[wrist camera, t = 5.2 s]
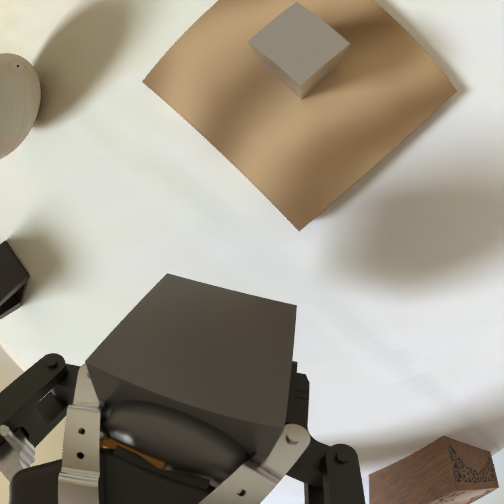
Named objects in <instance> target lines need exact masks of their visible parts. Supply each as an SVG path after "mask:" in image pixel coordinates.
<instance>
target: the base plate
mask: <svg viewBox="0 0 504 504" xmlns="http://www.w3.org/2000/svg"><path fill="white" fill-rule="evenodd" d="M295 2H298V3H300V4H301V5H303V6H304V7H305V8H307V9H308V10H310V11H311V12H312V13H314V14H315V15H316V16H318V17H319V18H320V19H321V20H323V21H324V22H325V23H326V24H328V25H329V26H330V27H331V28H333V29H334V30H335V31H336V32H337V33H339V34H340V35H341V36H342V37H343V38H344V39H346V40H347V41H348V42H349V43H350V45H349V47H348V49H347V51H346V53H345V55H344V57H343V60H342V62H341V64H340V66H339V68H338V69H336V70H335V71H334V72H333V73H332V74H330V75H329V76H328V77H327V78H326V79H325V80H323V81H322V82H321V83H320V84H319V85H318V86H316V87H315V88H314V89H313V90H312V91H311V92H310V93H309V94H307V95H306V96H305V97H304V98H303V99H302V100H301V99H300V98H299V97H298V96H297V95H296V94H295V93H294V92H293V91H291V90H290V89H289V88H288V87H287V86H286V85H285V84H284V83H283V82H281V81H280V80H279V79H278V78H277V77H276V76H275V75H273V74H272V73H271V72H270V71H269V70H267V69H266V68H265V67H264V66H263V65H262V63H261V62H260V60H259V59H258V57H257V55H256V54H255V52H254V51H253V49H252V48H251V46H250V45H249V43H248V41H249V40H250V39H251V38H252V37H253V36H254V35H256V34H257V33H258V32H259V31H260V30H261V29H263V28H264V27H265V26H266V25H267V24H268V23H270V22H271V21H272V20H273V19H275V18H276V17H277V16H278V15H280V14H281V13H282V12H283V11H285V10H286V9H287V8H289V7H290V6H291V5H293V4H294V3H295ZM142 82H143V83H144V84H145V85H147V86H148V87H149V88H150V89H151V90H152V91H154V92H155V93H156V94H157V95H158V96H159V97H160V98H162V99H163V100H164V101H165V102H166V103H167V104H168V105H169V106H171V107H172V108H173V109H174V110H175V111H176V112H177V113H178V114H180V115H181V116H182V117H183V118H184V119H185V120H186V121H187V122H188V123H189V124H191V125H192V126H193V127H194V128H195V129H196V130H197V131H198V132H199V133H200V134H201V135H202V136H204V137H205V138H206V139H207V140H208V141H209V142H210V143H211V144H212V145H213V146H214V147H215V148H216V149H217V150H218V151H219V152H221V153H222V154H223V155H224V156H225V157H226V158H227V159H228V160H229V161H230V162H231V163H232V164H233V165H234V166H235V167H236V168H237V169H238V170H239V171H240V172H241V173H242V174H243V175H244V176H245V177H246V178H247V179H248V180H249V181H250V182H251V183H252V184H253V185H254V186H255V187H256V188H257V189H258V190H259V191H260V192H261V193H262V194H263V195H264V196H265V197H266V198H267V199H268V200H269V201H270V202H271V203H272V204H273V205H274V206H275V207H276V208H277V209H278V210H279V211H280V212H281V213H282V214H283V215H284V216H285V217H286V218H287V219H288V220H289V221H290V222H291V223H292V224H293V225H294V226H295V228H296V229H297V230H298V231H300V230H301V229H302V228H304V227H305V226H306V225H307V224H308V223H309V222H311V221H312V220H313V219H314V218H315V217H316V216H318V215H319V214H320V213H321V212H322V211H323V210H325V209H326V208H327V207H328V206H329V205H330V204H331V203H333V202H334V201H335V200H336V199H337V198H338V197H339V196H341V195H342V194H343V193H344V192H345V191H346V190H348V189H349V188H350V187H351V186H352V185H353V184H354V183H356V182H357V181H358V180H359V179H360V178H361V177H362V176H363V175H365V174H366V173H367V172H368V171H369V170H370V169H371V168H373V167H374V166H375V165H376V164H377V163H378V162H379V161H380V160H382V159H383V158H384V157H385V156H386V155H387V154H388V153H389V152H391V151H392V150H393V149H394V148H395V147H396V146H397V145H398V144H400V143H401V142H402V141H403V140H404V139H405V138H406V137H407V136H408V135H410V134H411V133H412V132H413V131H414V130H415V129H416V128H417V127H418V126H420V125H421V124H422V123H423V122H424V121H425V120H426V119H427V118H428V117H430V116H431V115H432V114H433V113H434V112H435V111H436V110H437V109H438V108H439V107H440V106H442V105H443V104H444V103H445V102H446V101H447V100H448V99H449V98H450V97H451V96H452V95H454V94H455V93H456V92H457V90H456V89H455V87H454V86H453V85H452V83H451V82H450V81H449V79H448V78H447V77H446V75H445V74H444V73H443V72H442V70H441V69H440V68H439V67H438V65H437V64H436V63H435V62H434V61H433V59H432V58H431V57H430V56H429V55H428V54H427V53H426V51H425V50H424V49H423V48H422V47H421V46H420V45H419V44H418V43H417V42H416V40H415V39H414V38H413V37H412V36H411V35H410V34H409V33H408V32H407V31H406V30H405V29H404V28H403V27H402V26H401V25H400V24H399V23H398V22H397V21H395V20H394V19H393V18H392V17H391V16H390V15H389V14H388V13H387V12H386V11H384V10H383V9H382V8H381V7H380V6H379V5H378V4H376V3H375V2H374V1H373V0H219V1H218V2H216V3H215V4H214V5H213V6H212V7H211V8H210V9H209V10H208V11H206V12H205V13H204V14H203V15H202V16H201V17H200V18H199V19H198V20H197V21H196V22H195V23H194V24H193V25H192V26H191V27H190V28H189V29H188V30H187V31H186V32H185V33H184V34H183V35H182V36H181V37H180V38H179V39H178V40H177V41H176V42H175V44H174V45H173V46H172V47H171V48H170V49H169V50H168V51H167V52H166V54H165V55H164V56H163V57H162V58H161V59H160V60H159V62H158V63H157V64H156V65H155V66H154V68H153V69H152V70H151V71H150V73H149V74H148V75H147V76H146V78H145V79H144V80H143V81H142Z"/></svg>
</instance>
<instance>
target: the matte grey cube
mask: <svg viewBox="0 0 504 504" xmlns="http://www.w3.org/2000/svg"><path fill="white" fill-rule="evenodd" d="M248 43H249V45H250V46H251V48H252V49H253V51H254V52H255V54H256V55H257V57H258V59H259V60H260V62H261V63H262V65H263V66H264V67H265V68H266V69H267V70H269V71H270V72H271V73H272V74H273V75H275V76H276V77H277V78H278V79H279V80H280V81H281V82H283V83H284V84H285V85H286V86H287V87H288V88H289V89H290V90H291V91H293V92H294V93H295V94H296V95H297V96H298V97H299V98H300V99H301V100H302V99H303V98H304V97H305V96H306V95H307V94H309V93H310V92H311V91H312V90H313V89H314V88H315V87H316V86H318V85H319V84H320V83H321V82H322V81H323V80H325V79H326V78H327V77H328V76H329V75H330V74H332V73H333V72H334V71H335V70H336V69H338V68H339V66H340V64H341V62H342V60H343V57H344V55H345V53H346V51H347V49H348V47H349V45H350V43H349V42H348V41H347V40H346V39H344V38H343V37H342V36H341V35H340V34H339V33H337V32H336V31H335V30H334V29H333V28H331V27H330V26H329V25H328V24H326V23H325V22H324V21H323V20H321V19H320V18H319V17H318V16H316V15H315V14H314V13H312V12H311V11H310V10H308V9H307V8H305V7H304V6H303V5H301V4H300V3H298V2H295V3H294V4H293V5H291V6H290V7H289V8H287V9H286V10H285V11H283V12H282V13H281V14H280V15H278V16H277V17H276V18H275V19H273V20H272V21H271V22H270V23H268V24H267V25H266V26H265V27H264V28H263V29H261V30H260V31H259V32H258V33H257V34H256V35H254V36H253V37H252V38H251V39H250V40H249V41H248Z"/></svg>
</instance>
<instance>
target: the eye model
mask: <svg viewBox="0 0 504 504" xmlns="http://www.w3.org/2000/svg"><path fill="white" fill-rule="evenodd" d="M40 100H41V87H40V81H39V78H38V75H37V73H36V71H35V69H34V67H33V66H32V65H31V64H30V63H29V62H28V61H27V60H26V59H24V58H23V57H21V56H19V55H15V54H9V53H3V54H0V159H2V158H3V157H5V156H7V155H8V154H10V153H11V152H12V151H13V150H15V149H16V148H17V147H18V146H19V145H20V144H21V143H22V141H23V140H24V139H25V138H26V136H27V135H28V133H29V132H30V130H31V128H32V126H33V124H34V122H35V120H36V117H37V114H38V111H39V106H40Z"/></svg>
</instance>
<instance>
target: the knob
mask: <svg viewBox="0 0 504 504" xmlns="http://www.w3.org/2000/svg"><path fill="white" fill-rule="evenodd" d="M296 309H297V305H292V304H288V303H283V302H279V301H275V300H270V299H266V298H262V297H257V296H253V295H249V294H245V293H241V292H237V291H233V290H229V289H225V288H221V287H217V286H213V285H209V284H205V283H201V282H197V281H194V280H190V279H186V278H182V277H179V276H175V275H171V274H168V273H167V274H166V275H165V276H164V277H163V278H162V279H161V280H160V281H159V282H158V283H157V284H156V285H155V286H154V287H153V289H152V290H151V291H150V292H149V293H148V294H147V295H146V296H145V297H144V298H143V299H142V300H141V301H140V302H139V303H138V304H137V305H136V306H135V307H134V308H133V309H132V311H131V312H130V313H129V314H128V315H127V316H126V317H125V318H124V319H123V320H122V321H121V322H120V323H119V324H118V326H117V327H116V328H115V329H114V330H113V331H112V332H111V333H110V334H109V335H108V336H107V338H106V339H105V340H104V341H103V342H102V343H101V344H100V345H99V346H98V347H97V349H96V350H95V351H94V352H93V353H92V354H91V355H90V356H89V358H88V359H87V360H86V361H85V363H86V366H87V369H88V372H89V375H90V378H91V381H92V384H93V387H94V390H95V393H96V395H97V397H99V398H101V399H103V400H105V403H106V405H107V419H106V420H105V422H104V424H103V426H104V428H105V430H106V433H107V435H108V437H109V440H103V448H110V449H115V448H116V446H117V445H119V446H121V447H123V448H125V449H128V450H130V451H132V452H134V453H136V454H139V455H140V456H141V457H143V458H144V459H146V460H147V461H148V462H150V463H151V464H153V465H154V466H156V467H157V468H159V469H163V470H170V471H178V472H186V473H189V474H193V475H196V476H199V477H203V478H206V479H210V485H212V486H214V487H215V488H217V487H218V486H220V485H221V484H222V483H223V482H224V481H225V480H226V479H227V478H228V477H230V476H231V475H232V474H233V473H234V472H235V471H236V470H237V469H238V468H239V467H240V466H241V465H242V464H243V463H244V462H246V461H247V460H249V459H251V458H252V457H253V456H254V455H255V454H256V453H262V454H267V455H270V453H271V452H272V450H273V448H274V446H275V445H276V443H277V441H278V439H279V437H280V436H281V434H282V432H283V430H284V428H285V420H286V412H287V404H288V395H289V387H290V377H291V367H292V357H293V346H294V335H295V323H296Z"/></svg>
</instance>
